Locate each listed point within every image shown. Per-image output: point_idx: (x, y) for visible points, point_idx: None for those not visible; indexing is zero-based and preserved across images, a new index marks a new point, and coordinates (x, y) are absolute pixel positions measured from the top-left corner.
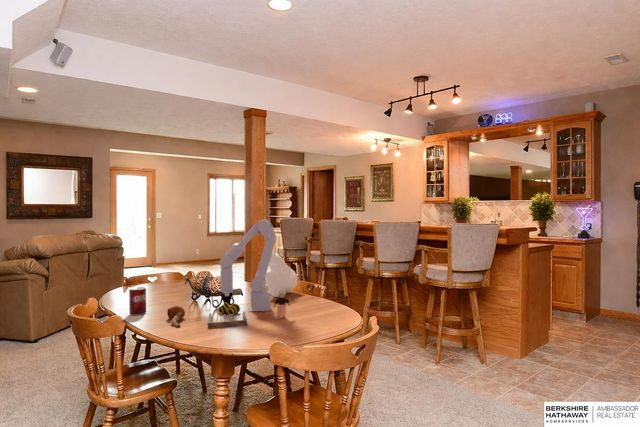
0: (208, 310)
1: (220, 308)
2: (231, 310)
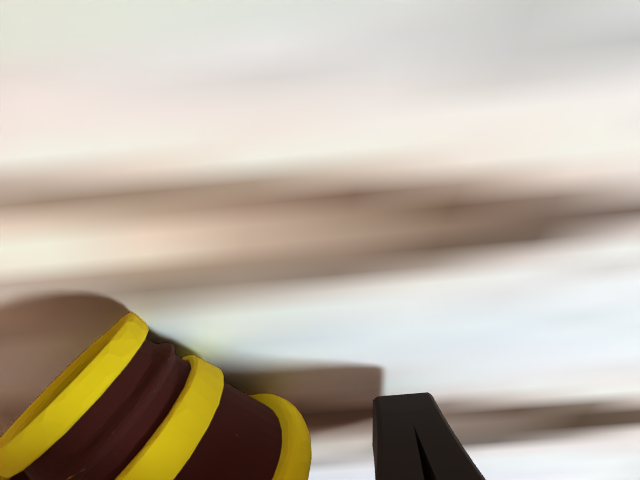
0: (499, 17)
1: (162, 392)
2: None
